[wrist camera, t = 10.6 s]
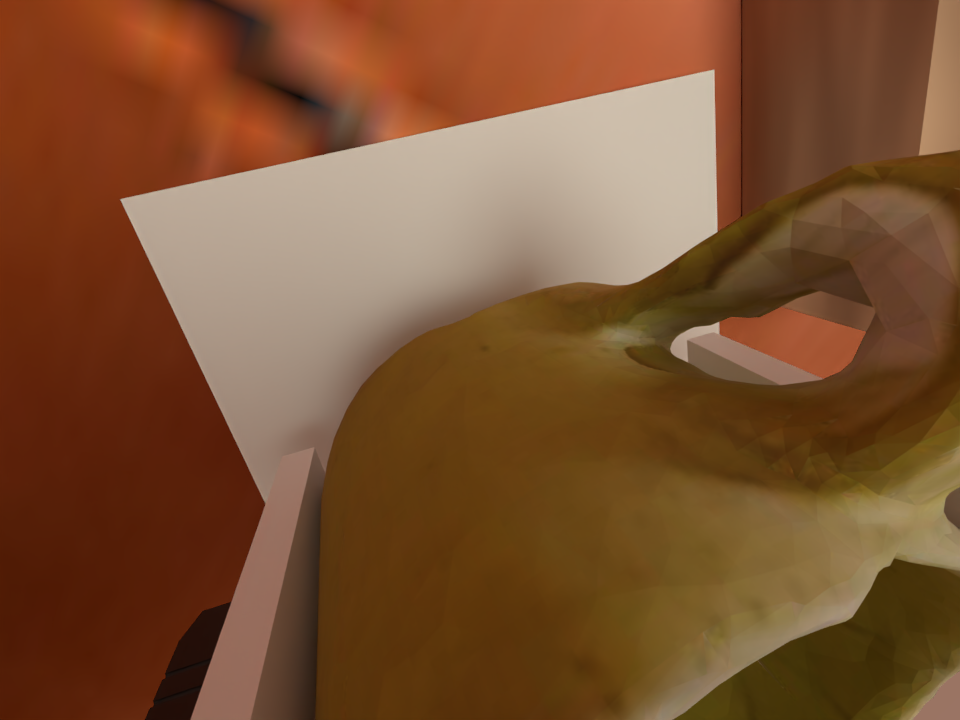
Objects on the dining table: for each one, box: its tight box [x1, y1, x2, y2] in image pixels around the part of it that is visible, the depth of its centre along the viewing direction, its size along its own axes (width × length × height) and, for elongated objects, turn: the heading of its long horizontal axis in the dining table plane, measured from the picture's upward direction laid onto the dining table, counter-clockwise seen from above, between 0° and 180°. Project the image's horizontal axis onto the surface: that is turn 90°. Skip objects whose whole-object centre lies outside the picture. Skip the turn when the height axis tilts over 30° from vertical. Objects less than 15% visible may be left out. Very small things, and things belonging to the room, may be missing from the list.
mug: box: [315, 150, 960, 720], centre depth 9 cm, size 12×10×10 cm
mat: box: [120, 70, 719, 504], centre depth 15 cm, size 15×15×1 cm
